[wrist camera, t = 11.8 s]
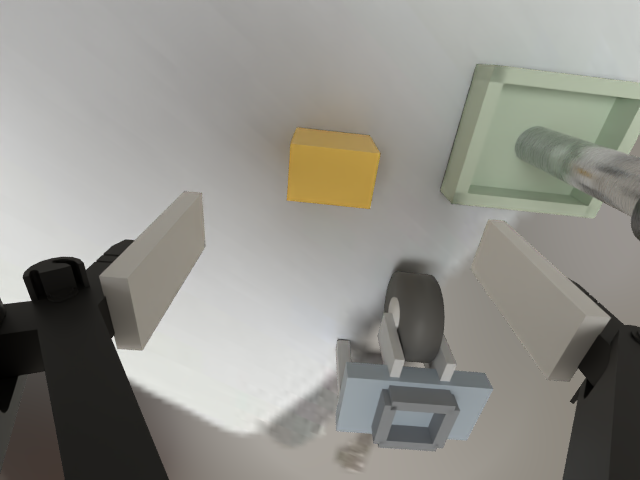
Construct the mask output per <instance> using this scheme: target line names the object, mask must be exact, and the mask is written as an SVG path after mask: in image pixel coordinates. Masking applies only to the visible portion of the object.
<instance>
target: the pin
mask: <svg viewBox="0 0 640 480" xmlns="http://www.w3.org/2000/svg"><path fill="white" fill-rule="evenodd" d="M515 153H516V155H517V157H518V158H519V159H521V160H523V161H524V162H526V163H528V164H530V165H532V166H534V167H536V168H538V169H540V170H542V171H544V172H546V173H548V174H550V175H551V176H553V177H555V178H557V179H559V180H561V181H563V182H565V183H567V184H569V185H571V186H573V187H575V188H577V189H579V190H580V191H582V192H584V193H586V194H588V195H590V196H592V197H594V198H596V199H598V200H600V201H602V202H604V203H606V204H607V205H609V206H612V207H613V208H616V209H618V210H619V211H621V212H623V213H625V214H627V215H629V216H631V228H632V231H633V233H634V235H635V237H636V238H637V239H638V240H639V241H640V158H639V157H636V156H633V155H629V154H626V153H623V152H620V151H617V150H614V149H611V148H607V147H604V146H601V145H598V144H595V143H592V142H589V141H585V140H582V139H579V138H576V137H573V136H570V135H567V134H563V133H560V132H557V131H554V130H551V129H548V128H545V127H541V126H535V127H531V128H529V129H527V130H525V131H524V132H523V133H522V134H521V135H520V136H519V137H518V139H517V141H516V144H515Z"/></svg>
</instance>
